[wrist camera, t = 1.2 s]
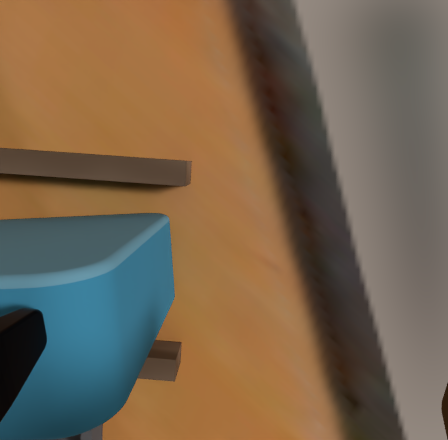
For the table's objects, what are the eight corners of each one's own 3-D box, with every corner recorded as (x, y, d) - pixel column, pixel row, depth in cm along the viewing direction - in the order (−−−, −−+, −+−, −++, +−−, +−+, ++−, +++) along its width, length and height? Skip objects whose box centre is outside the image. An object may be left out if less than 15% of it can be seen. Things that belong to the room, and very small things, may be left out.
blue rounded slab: (-30, 299, 23) (-326, 452, 11) (-41, 221, 22) (-371, 292, 10) (179, 291, 22) (111, 443, 10) (173, 211, 21) (94, 273, 10)
